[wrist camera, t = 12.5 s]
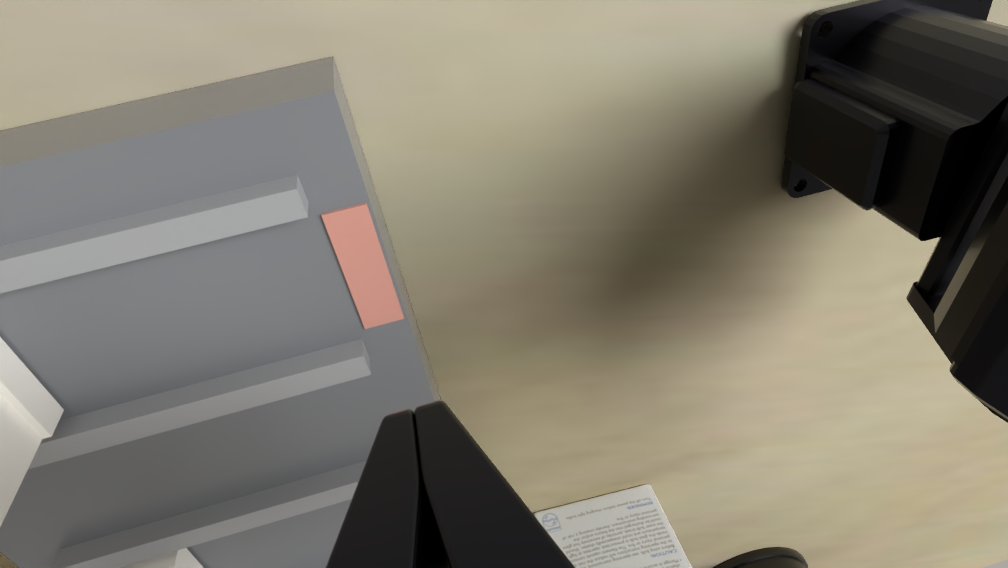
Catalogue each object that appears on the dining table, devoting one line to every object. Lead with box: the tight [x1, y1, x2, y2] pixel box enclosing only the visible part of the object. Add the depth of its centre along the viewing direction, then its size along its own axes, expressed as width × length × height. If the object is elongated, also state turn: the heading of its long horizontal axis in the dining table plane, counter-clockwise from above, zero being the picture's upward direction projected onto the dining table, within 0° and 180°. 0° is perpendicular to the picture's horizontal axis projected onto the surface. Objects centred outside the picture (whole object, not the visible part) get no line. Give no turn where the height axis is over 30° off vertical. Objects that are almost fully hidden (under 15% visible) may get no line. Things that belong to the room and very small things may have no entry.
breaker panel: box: [0, 57, 441, 568], centre depth 21 cm, size 15×21×4 cm
